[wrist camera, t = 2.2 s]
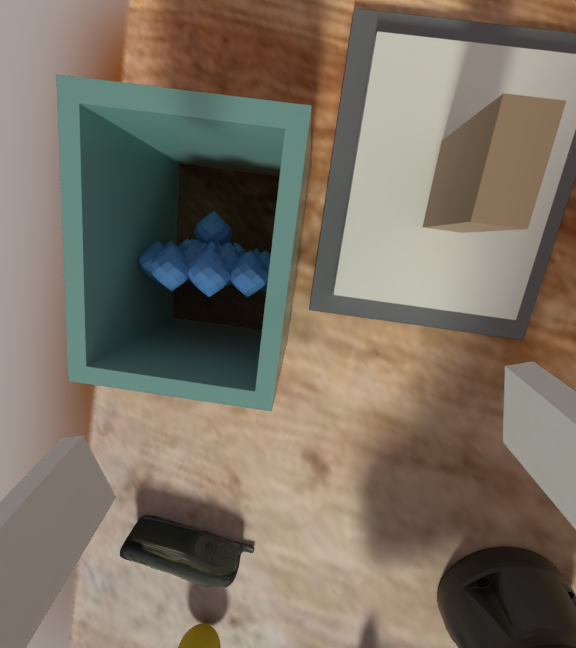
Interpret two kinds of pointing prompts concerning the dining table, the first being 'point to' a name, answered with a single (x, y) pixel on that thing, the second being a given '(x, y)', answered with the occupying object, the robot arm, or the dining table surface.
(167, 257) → the grapes
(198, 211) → the dining table surface
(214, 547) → the mobile phone
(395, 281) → the lid
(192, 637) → the lemon
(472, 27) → the mat
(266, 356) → the teal storage bin
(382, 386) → the dining table surface
